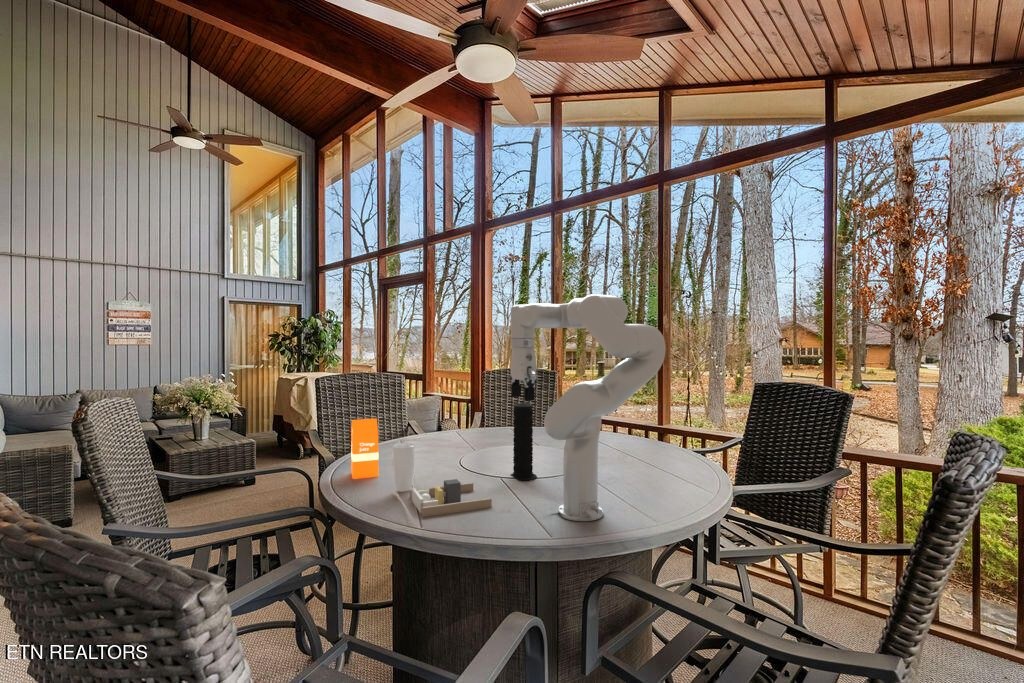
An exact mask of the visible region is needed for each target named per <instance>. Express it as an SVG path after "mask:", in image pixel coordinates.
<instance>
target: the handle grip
mask: <svg viewBox="0 0 1024 683" xmlns="http://www.w3.org/2000/svg"><path fill="white" fill-rule="evenodd" d="M533 407H534V404H530V403H527V402H520V403H516V404H513V426H512V427H513V439H512V440H513V449H512V450H513V472H512V473H511V474H510V476H511V477H512V478H514V479H515V480H517V481H519V482H531V481H530V480H533V481H535V480H537V479H538V476H537V474H535V473H534V472H533V469H534V468H533V464H534V463H533V460H534V458H533V457H534V456H533V454H534V453H533V450H534V446H533V445H534V444H533V442H534V441H533V440H534V438H533V436H534V435H533V433H534V429H533V427H534V425H533V423H534V420H533V418H534V416H533V415H534V411H533ZM536 478H537V479H536ZM534 479H535V480H534Z"/></svg>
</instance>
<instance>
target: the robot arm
mask: <svg viewBox="0 0 1024 683" xmlns="http://www.w3.org/2000/svg"><path fill="white" fill-rule="evenodd" d="M628 315H629V308H628V306H627V303H626V302H625V301H624V300H623V299H622V298H621V297H619V296H616V295H611V294H609V295H607V294H598V293H597V294H596V293H595V294H593V293H592V294H589V295H586V296H585V297H577V298H573V299H571V300H570V301H569V302H568V303H542V302H541V303H539V302H532V303H528V304H514V305H512V306H511V309H510V349H511V356H510V357H511V358H510V370H509V371H510V372H509V373H510V380H511V381H510V385H511V388H510V389H511V391H510V393H511V396H510V397H512V398H520V397H522V383H521V382H523V384H524V387H523V401H525V402H528V401H529V402H530V401H535V388H536V385H535V384H536V382H537V381H536V380H537V358H536V351H535V345H536V344H535V341H536V340H535V334H536V332H535V329H564V328H565V329H567V328H569V329H570V328H571V329H572V328H573V329H576V330H578V329H585V330H586V331H587V332H588V333H589V334H590V336H592V337H593V339H594V340H595V341H596V342H597V343H598V344H599V345H600V346H601V347H602V349H604V351H606V353H607V354H608V355H610V356H612V357H614V358H618V359H623V360H621V361H620V362H619V363H617V364H616V365H615V366H613V367H612V369H611V370H610V371H608V372H607V373H606V374H604V376H602V377H601V378H599V379H598V378H597V379H595V380H585V381H581V382H577V383H575V384H574V385H572V386H571V387H570V388H568V389H567V391H565V392H564V393H563V394H562V395H561V396H560V397H559V398H558V399H557V400H556V401H555V402H554V403H553V404H552V405H551V406H550V407H549V408H548V409H547V412H546V413H545V415H544V420H543V424H544V430H545V433H546V434H547V435H548V436H549V437H550V438H551V439H554V440H558V441H565V444H564V446H563V447H564V448H563V504H561V505H559V506H558V508H557V511H558V515H559V516H560V517H562V518H563V519H566V520H569V521H575V522H591V521H596V520H599V519H601V518H602V517H603V516H604V510H603V508H602V507H600V506H599V501H598V496H599V495H598V491H599V489H598V479H599V478H598V473H599V472H598V470H599V469H598V468H599V467H598V466H599V464H598V462H599V461H598V460H599V442H600V441H599V439H600V433H601V428H602V417H603V416H607V415H610V414H612V413H614V412H615V411H616V410H618V409H619V408H620V407H621V406H622V405H623V404H624V403H625V402H626V401H628V400H629V399H630V398H631V397H632V396H634V395H635V394H636V392H638V391H640V389H641V388H642V387H644V386H645V385H646V384H647V383H648V382H649V381H651V379H652V378H654V376H655V375H656V374H657V373H658V372H659V371H660V369H661V367H662V365H663V363H664V361H665V356H666V340H665V338H664V335H663V334H662V332H661V331H660V330H659V329H658V328H656V327H654V326H652V325H650V324H644V323H625V321H626V319H627V317H628Z"/></svg>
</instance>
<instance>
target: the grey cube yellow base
mask: <svg viewBox="0 0 1024 683" xmlns="http://www.w3.org/2000/svg"><path fill="white" fill-rule="evenodd" d="M461 484H462V483H461V481H459V480H458V479H457V478H455V479H454V478H453V479H446V480H443V486H444V492H443V490H442V489H441V488H440V487H441V486H439V485H437V486H434V487H435V496H434V500H438V505H443V504H444V502H445V504H450V503H458V502H462V500H461V498H462V495H461V494H462V492H461Z"/></svg>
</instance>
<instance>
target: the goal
mask: <svg viewBox="0 0 1024 683" xmlns="http://www.w3.org/2000/svg"><path fill="white" fill-rule="evenodd" d="M416 489H417V488H415V487H412V499H411V502H412V504H413V505H414V506H415V508H416V509H417V511H418V512H419V513H420V514H422V507H428V506H436V505H438V500H435V499H434V500H431V501H425V502H423V498H422V497H421V495H422V494H429V489H427V490H419V491H417V490H416Z"/></svg>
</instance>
